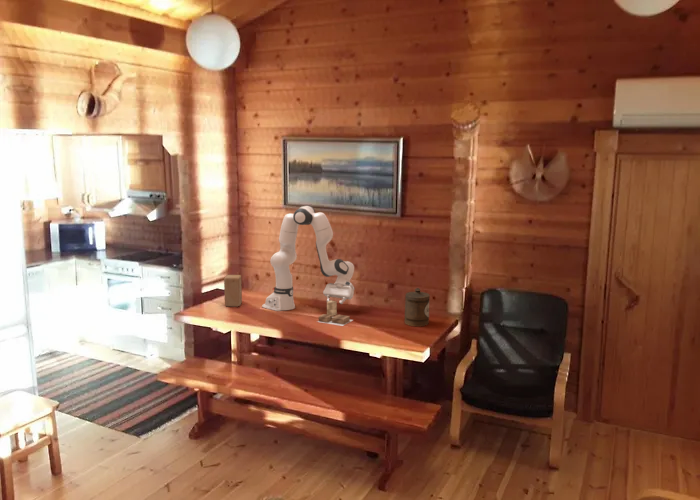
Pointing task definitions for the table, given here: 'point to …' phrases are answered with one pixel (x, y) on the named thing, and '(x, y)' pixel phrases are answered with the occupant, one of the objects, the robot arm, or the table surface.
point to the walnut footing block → (325, 318)
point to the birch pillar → (332, 308)
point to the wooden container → (417, 308)
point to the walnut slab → (340, 319)
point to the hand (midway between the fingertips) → (334, 302)
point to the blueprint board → (335, 323)
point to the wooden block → (233, 290)
